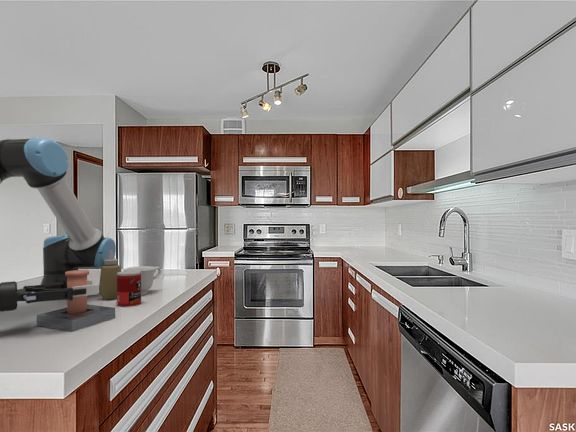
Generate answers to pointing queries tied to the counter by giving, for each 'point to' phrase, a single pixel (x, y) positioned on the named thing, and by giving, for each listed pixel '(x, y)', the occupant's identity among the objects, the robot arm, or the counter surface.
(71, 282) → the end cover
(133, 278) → the canned food
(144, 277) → the teacup
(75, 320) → the flange block
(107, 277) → the squeeze bottle
